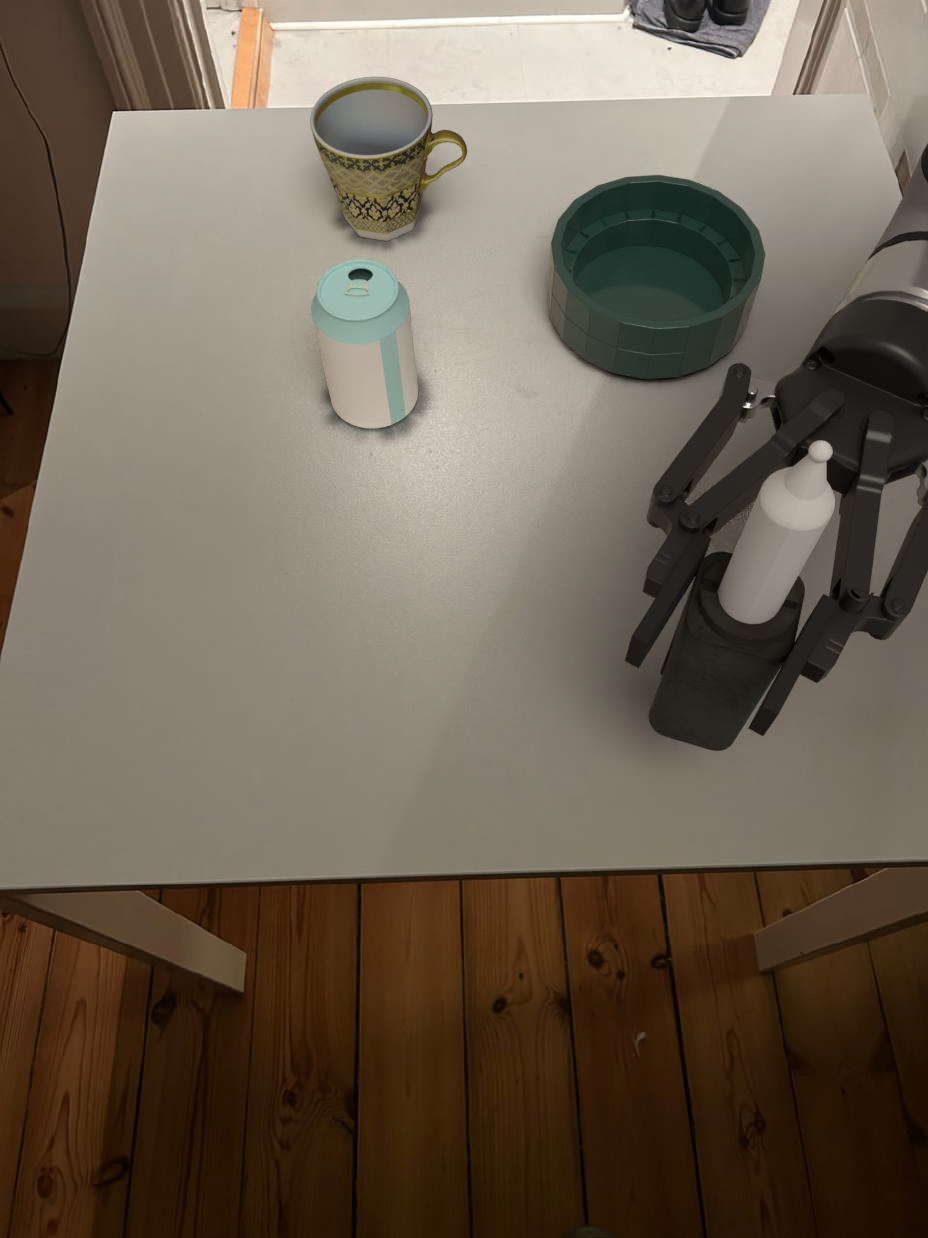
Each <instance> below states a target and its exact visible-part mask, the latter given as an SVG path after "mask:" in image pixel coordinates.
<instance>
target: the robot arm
mask: <svg viewBox="0 0 928 1238" xmlns="http://www.w3.org/2000/svg"><path fill="white" fill-rule="evenodd" d="M810 347H811V348H810V349H809V350H808V352H807V354H806V355H805V357H804V359H803V360H802V362H801V363H800V365H799V366H798V368H796V369H795V370H794V371H792V372H790V373H788V374H786V375H784V376H782V377H781V378H780V379H779V380H778V381H777V382H776V381H772V380H765V379H761V378H756V377H752V369H751V367H750V366H748V365H747V364H745V363H743V362H735V363H733V364H731V365H730V366H729V367H728V369H727V371H726V376H725V378H724V381H723V385H722V388H721V391H720V394H719V399H718V400H717V401H716V403H715V404H714V406H713V407H712V408H711V410H710V411H709V413H708V414H707V415H706V416H705V418H704V419H703V421H702V422H701V423H700V425H699V426H698V427H697V429H696V430H695V432H694V433H693V434H692V435H691V437H690V438H689V439H688V440H687V442H686V443H685V444H684V446H683V447H682V449H681V450H680V451H679V453H678V454H677V455H676V456H675V458H674V460H673V461H672V462H671V463H670V465H669V466H668V467H667V469H666V470H665V472H664V473H663V474H662V475H661V476H660V478H659V479H658V480H657V482H656V483H655V485H654V486H653V489H652V492H651V496H650V501H649V504H648V507H647V508H648V509H647V513H646V522H647V524H648V525H650V526H651V527H652V528H654V529H660V530H661V531H662V532H663V533H664V534H665V536H666V538H665V539H664V541H663V543H662V545H661V546H660V547H659V549H658V550H657V552H656V553H655V555H654V557H653V558H652V560H651V561H650V563H649V565H648V566H647V568H646V572H645V575H644V579H643V584H642V591H641V592H642V593H644V594H646V595H648V596H650V597H652V598H653V599H654V600H653V602H652V603H651V604H650V606H649V608H647V610H646V612H645V614H644V616H642V619H641V620H640V622H639V623H638V625H637V627H636V628H635V630H634V631H633V633H632V635H631V637H630V640H629V643H628V644H629V645H628V648H627V651H626V654H625V658H624V662H626V663H627V664H630V665H631V666H633V667H635V668H637V669H640V667H641V665H642V664H643V663H644V661H645V659H646V657H647V656H648V654H649V653H650V651H651V650H652V648H653V646H654V644H655V643H656V641H657V639H658V638H659V636H660V635H661V633H662V631H663V630H664V628H665V627H666V625H667V623H668V622H669V620H670V618H671V617H672V615H673V614H674V612H675V611H676V609H677V607H678V605H680V602H681V601H682V599H683V597H684V596H685V594H686V592H687V590H688V589H689V588H690V586H691V584H693V582H694V579H695V576H696V574H697V571H698V568H699V566H700V564H701V562H702V560H703V559H704V558H705V557H706V556H707V552H708V550H709V547H710V544H711V541H712V539H713V538H712V537H713V536H714V535H715V534H716V533H718V532H719V531H720V530H721V529H722V528H724V527H725V526H726V525H727V524H728V523H730V522H731V521H732V520H733V519H734V518H735V517H737V516H739V514H740V513H742V512H743V511H744V510H745V509H746V508H747V507H749V506H750V505H751V504H753V503H754V502H755V501H756V499H757V496H758V494H759V492H760V489H761V487H762V485H763V483H764V482H765V480H766V479H767V478H768V477H769V476H770V475H771V474H773V473H774V472H776V471H778V470H781V469H784V468H788V467H793V466H794V465H795V464H797V463H798V462H799V461H800V460H802V459H803V458H804V457H805V456H806V455H808V454H809V453H808V450H809V447H810V445H811V444H812V443H813V442H815V441H819V440H823V441H826V442H828V443H829V444H830V445H831V447H832V449H833V454H832V456H831V458H830V459H829V460H827V482H828V483H829V485H830V487H831V488H832V490H833V492H836V493H839V494H840V500H839V507H838V515H840V517H839V522H838V530H837V538H836V545H835V551H834V558H833V565H832V574H831V580H830V581H831V582H830V586H829V593H828V595H827V594H826V593H823V594H822V595H821V596H820V598H819V600H818V602H817V603H816V605H815V606H814V608H813V609H812V610H811V613H810V614H809V615H808V617H807V619H806V621H805V622H804V624H803V626H802V627H801V629H800V632H799V634H798V636H796V639H795V644H794V646H793V648H792V650H791V651H790V653H789V655H788V656H787V658H786V659H785V661H784V663H783V665H782V666H781V668H780V670H779V671H778V673H777V674H776V676H775V677H774V679H773V681H772V682H771V684H770V686H769V688H768V689H767V691H766V692H767V693H766V694H765V696H764V698H763V700H762V702H761V703H760V705H759V707H758V709H757V711H756V712H755V714H754V716H753V718H752V720H751V721H750V724H749V725H748V727H747V729H748V730H750V731H752V732H754V733H755V734H758V735H760V736H761V737H764V736H765V735H766V733H767V732H768V731H769V729H770V727H772V724H773V723H774V722H775V720H776V719H777V718H778V716H779V715H780V712H781V711H782V709H783V707H784V705H785V703H786V701H787V700H788V697H789V696H790V694H791V692H792V691H793V689H794V687H795V685H796V682H797V681H798V679H799V677H800V676H802V677H804V678H805V679H807V680H810V681H811V682H813V683H816V684H819V683H820V682H821V681H822V680H824V679H825V678H826V677H827V676H828V675H829V673H830V672H831V671H832V670H833V668H834V666H835V665H836V663H837V662H838V659H839V658H840V656H841V654H842V652H843V650H844V648H845V646H846V645H847V642H848V641H849V639H850V636H851V634H853V633H857V632H858V633H859V632H860V633H861V632H862V633H867V634H869V636H870V637H871V638H873V639H875V640H877V641H886V640H888V639H890V638H891V636H892V635H893V634H894V633H895V631H897V629H898V628H899V627H900V625H901V624H902V623H903V622H904V620H906V618H907V617H908V616H909V614H910V613H911V611H912V609H913V607H914V605H915V602H916V599H917V598H918V595H919V592H920V590H921V588H922V585H923V583H924V581H925V579H926V576H927V574H928V143H926V145H925V147H924V149H923V151H922V153H921V154H920V157H919V159H918V161H917V164H916V166H915V168H914V171H913V172H912V175H911V177H910V179H909V182H908V184H907V186H906V188H905V191H904V193H903V195H902V198H901V200H900V202H899V203H898V206H897V208H896V210H895V212H894V213H893V216H892V218H891V219H890V221H889V223H888V225H887V226H886V228H885V229H884V231H883V233H882V235H881V237H880V238H879V240H878V242H877V243H876V245H875V247H874V249H873V251H872V252H871V254H870V255H869V257H867V259H866V261H865V262H864V264H863V265H862V266H861V268H859V270H858V272H857V274H856V275H855V277H854V279H852V282H851V284H850V285H849V286H848V288H847V290H846V292H844V295H843V297H842V298H841V299H840V301H839V303H838V304H837V306H836V307H835V309H834V311H833V313H832V314H831V317H830V318H829V319H828V321H826V323H825V325H824V327H823V328H822V329H821V331H820V333H819V335H818V336H817V337H816V339H815V341H814V342H813V344H812V346H810ZM766 408H767V409H769V411H770V415H771V418H772V422H773V426H774V431H775V432H774V433H773V435H772V436H771V437H770V439H769V440H768V441H767V442H765V443H764V444H763V445H762V446H761V447H759V448H758V449H756V451H755V452H753V453H752V454H751V455H749V456H748V457H747V458H746V459H744V460H743V461H742V462H741V463H740V464H738V465H737V466H736V467H734V468H733V469H732V470H730V471H729V472H728V473H727V474H726V475H725V476H723V477H722V478H721V479H720V480H719V481H717V482H716V483H715V484H713V485H712V486H711V487H709V488H708V489H707V490H706V491H705V492H704V493H702V494H701V495H700V496H698V498H696V499H695V500H693V501H692V502H691V503H690V504H687V503H686V501H687V500H688V498H689V496H690V495H691V494H692V492H693V491H694V490H695V488H696V487H697V485H698V484H699V483H700V482H701V480H702V479H703V477H704V476H705V475H706V473H707V472H708V470H709V469H710V467H711V466H712V465H713V464H714V462H715V461H716V460H717V458H718V457H719V455H720V454H721V452H722V451H723V450H724V449H725V447H726V446H727V444H728V443H729V441H730V440H731V438H732V437H733V435H734V433H735V431H736V429H737V426H738V423H741V424H745V423H747V422H748V421H749V420H750V419H751V420H752V419H753V418H754V417H756V415H757V414H758V412H759V411H760V410H762V409H766ZM913 475H916V476H917V477H918V479H919V485H918V488H917V490H916V496H917V504H918V506H920V507H921V508H920V509H919V511H918V512H917V513H916V515H915V517H913V520H912V521H911V524H910V525H909V528H908V530H907V532H906V533H905V537H904V539H903V541H902V543H901V546H900V548H899V551H898V552H897V554H896V557H895V559H894V562H893V564H892V566H891V569H890V571H889V573H888V575H887V578H886V580H885V582H884V583H883V587H882V589H881V591H880V594H879V596H878V595H875V592H873V591H872V592H870V591H871V585H872V575H873V568H874V558H875V550H876V542H877V534H878V526H879V518H880V517H879V516H880V509H881V500H882V493H883V490H884V487H885V485H889V484H892V483H894V482H896V481H899V480H902V479H905V478H907V477H910V476H913Z"/></svg>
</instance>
